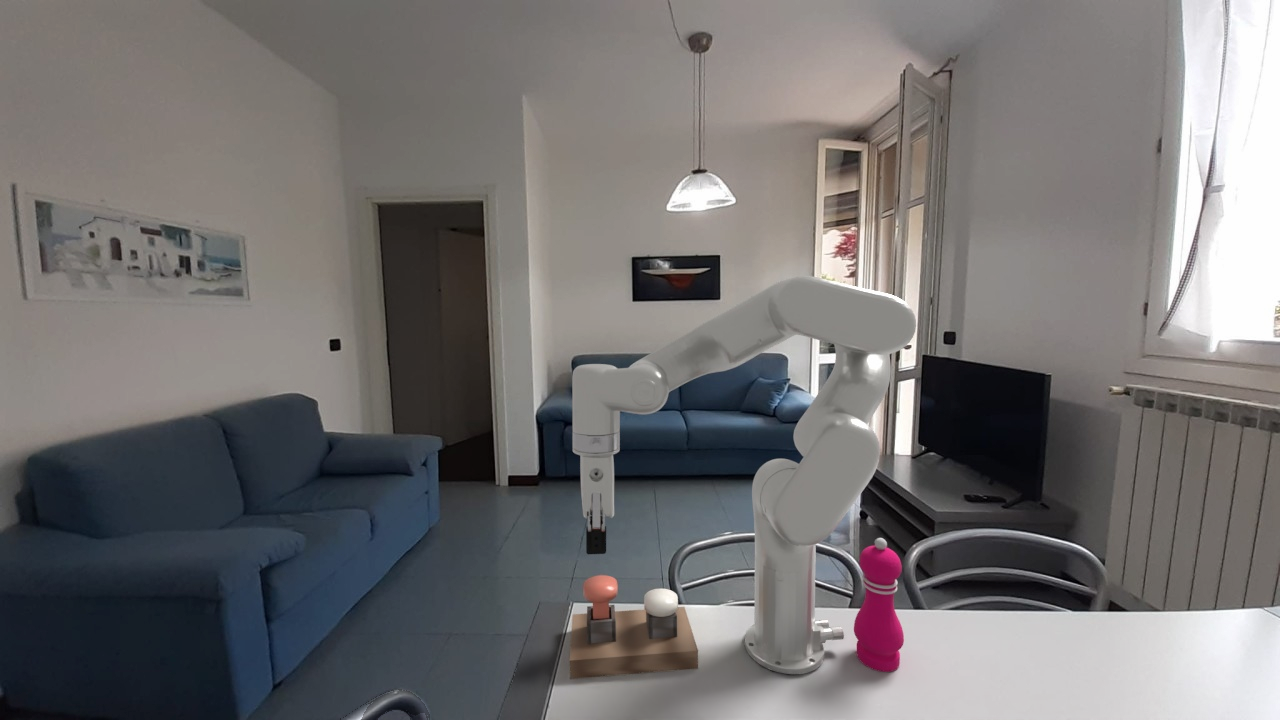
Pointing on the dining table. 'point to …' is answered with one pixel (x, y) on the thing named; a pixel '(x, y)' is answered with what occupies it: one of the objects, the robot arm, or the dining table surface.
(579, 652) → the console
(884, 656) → the pepper mill
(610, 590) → the red button
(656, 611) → the cream button
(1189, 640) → the dining table surface
